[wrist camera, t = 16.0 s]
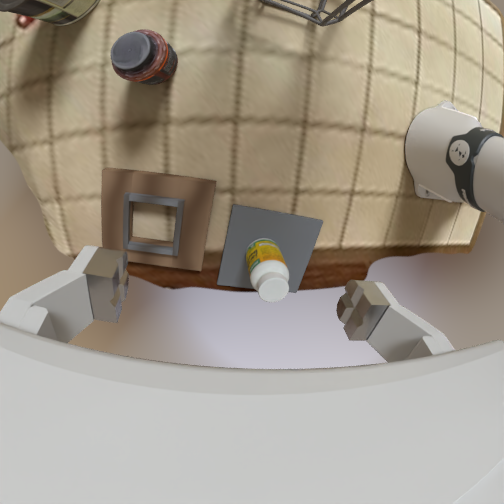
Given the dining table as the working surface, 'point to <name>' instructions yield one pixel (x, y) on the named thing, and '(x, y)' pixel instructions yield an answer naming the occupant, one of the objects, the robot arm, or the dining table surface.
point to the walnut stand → (163, 193)
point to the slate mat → (271, 227)
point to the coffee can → (50, 9)
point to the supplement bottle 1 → (143, 57)
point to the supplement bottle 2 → (267, 270)
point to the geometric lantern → (326, 21)
